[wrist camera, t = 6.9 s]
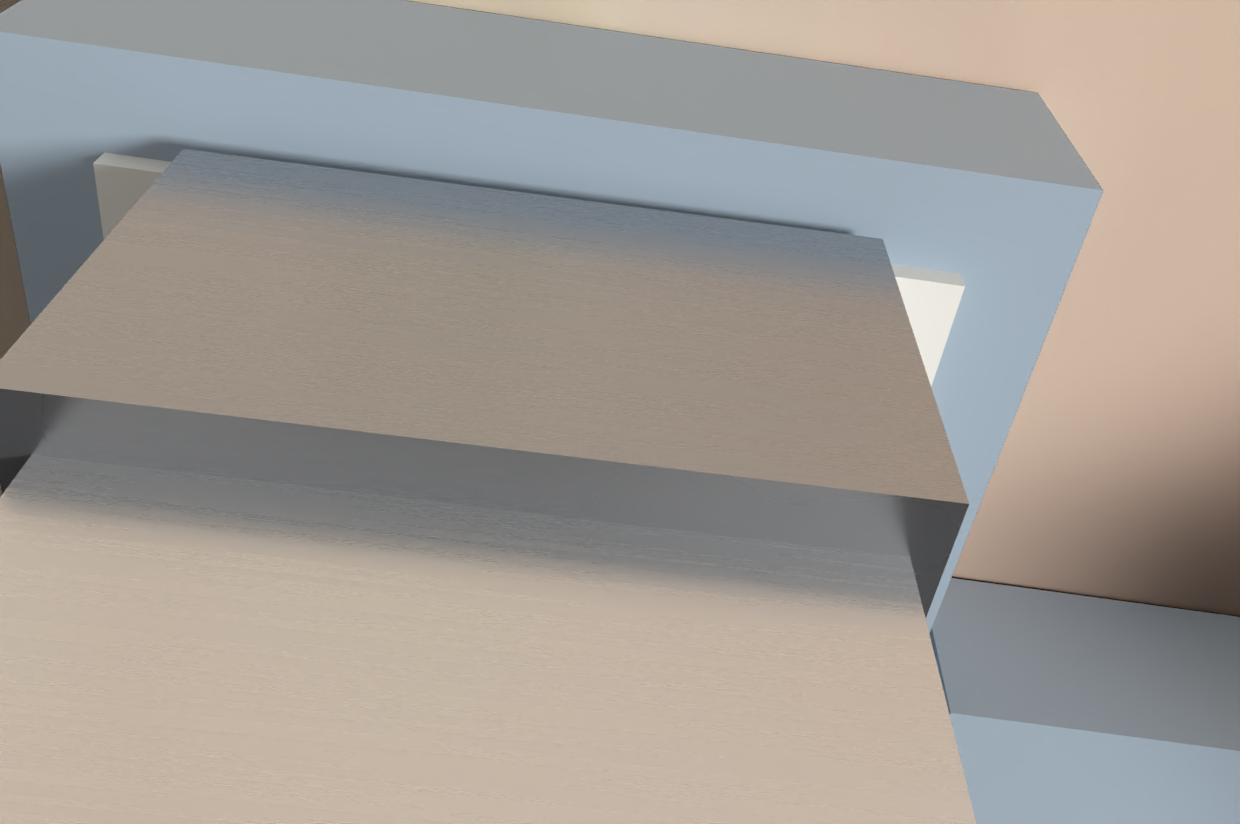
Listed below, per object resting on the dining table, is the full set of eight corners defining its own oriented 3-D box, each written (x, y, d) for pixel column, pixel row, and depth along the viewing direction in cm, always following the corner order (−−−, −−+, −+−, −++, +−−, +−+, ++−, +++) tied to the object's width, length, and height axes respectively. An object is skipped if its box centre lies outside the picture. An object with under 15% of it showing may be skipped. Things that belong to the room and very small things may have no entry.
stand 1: (825, 716, 15) (842, 875, 13) (179, 631, 14) (105, 780, 13) (1037, 93, 10) (1111, 202, 8) (97, -45, 10) (-40, 37, 8)
